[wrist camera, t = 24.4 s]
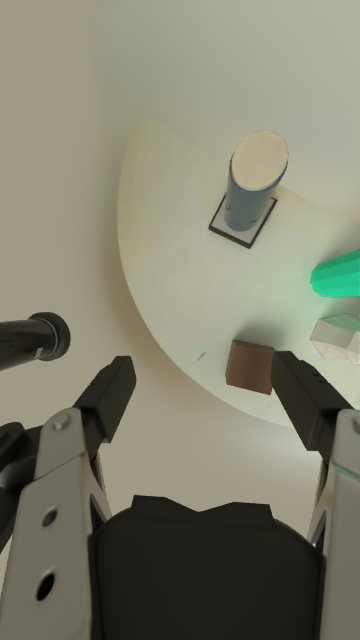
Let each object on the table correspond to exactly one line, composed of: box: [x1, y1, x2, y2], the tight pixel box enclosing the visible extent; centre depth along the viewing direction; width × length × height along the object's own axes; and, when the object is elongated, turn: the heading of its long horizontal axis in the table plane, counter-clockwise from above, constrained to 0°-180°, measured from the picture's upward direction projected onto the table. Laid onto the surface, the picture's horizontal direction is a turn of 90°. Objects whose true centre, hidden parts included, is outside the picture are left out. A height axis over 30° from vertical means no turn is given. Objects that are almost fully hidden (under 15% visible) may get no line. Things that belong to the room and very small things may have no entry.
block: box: [225, 340, 276, 395], centre depth 30 cm, size 7×7×4 cm
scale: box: [209, 192, 277, 249], centre depth 29 cm, size 8×8×1 cm
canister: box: [224, 130, 288, 232], centre depth 23 cm, size 6×6×11 cm
